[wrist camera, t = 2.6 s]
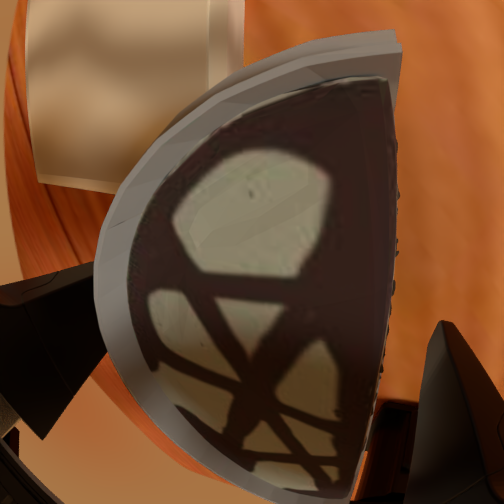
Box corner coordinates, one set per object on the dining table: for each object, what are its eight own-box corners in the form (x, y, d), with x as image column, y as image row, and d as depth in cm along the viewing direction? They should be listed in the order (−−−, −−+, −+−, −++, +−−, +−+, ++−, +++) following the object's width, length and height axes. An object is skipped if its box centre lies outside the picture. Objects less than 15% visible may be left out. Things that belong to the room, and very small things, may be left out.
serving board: (246, 199, 15) (224, 216, 14) (58, 173, 21) (36, 183, 19) (252, -101, 7) (231, -120, 5) (51, -19, 12) (28, -19, 11)
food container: (239, 84, 12) (9, 120, 4) (389, 70, 10) (389, -17, 2) (275, 321, 18) (181, 476, 10) (386, 334, 15) (341, 524, 7)
